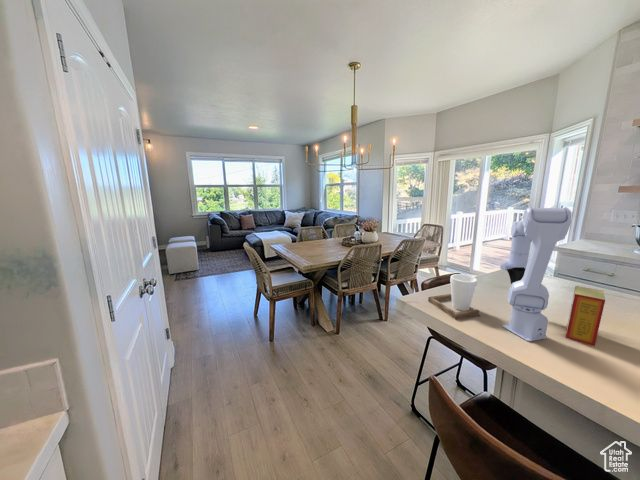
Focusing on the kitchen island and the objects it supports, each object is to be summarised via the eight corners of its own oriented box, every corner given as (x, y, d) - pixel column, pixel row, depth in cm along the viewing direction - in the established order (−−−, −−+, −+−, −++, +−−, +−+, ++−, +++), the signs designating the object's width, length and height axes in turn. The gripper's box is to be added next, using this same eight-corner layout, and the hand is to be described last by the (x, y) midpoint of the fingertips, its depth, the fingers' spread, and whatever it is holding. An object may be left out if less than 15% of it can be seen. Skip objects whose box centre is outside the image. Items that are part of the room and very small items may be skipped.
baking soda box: (567, 326, 90) (575, 284, 87) (593, 333, 86) (603, 289, 82) (565, 337, 84) (575, 293, 80) (594, 346, 79) (605, 299, 76)
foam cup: (465, 301, 110) (468, 273, 108) (478, 312, 101) (482, 281, 99) (444, 302, 111) (446, 274, 108) (454, 312, 102) (457, 282, 99)
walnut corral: (479, 315, 99) (479, 310, 99) (455, 319, 97) (455, 314, 96) (449, 298, 114) (450, 294, 114) (428, 301, 112) (428, 296, 112)
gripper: (523, 248, 104) (519, 279, 107) (495, 251, 101) (491, 283, 104) (542, 252, 97) (536, 285, 100) (511, 256, 94) (507, 289, 97)
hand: (514, 284), depth 102 cm, fingers closed
